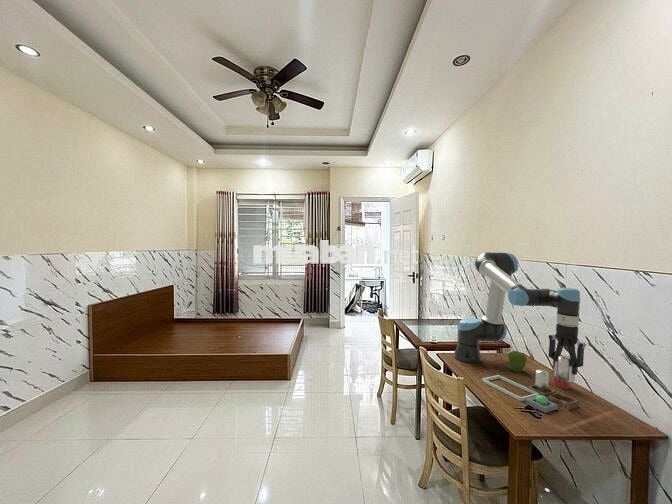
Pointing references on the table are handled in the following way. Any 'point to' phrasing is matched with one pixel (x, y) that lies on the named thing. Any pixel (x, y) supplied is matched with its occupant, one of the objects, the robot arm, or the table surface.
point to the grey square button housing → (545, 409)
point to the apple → (517, 360)
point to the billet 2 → (563, 368)
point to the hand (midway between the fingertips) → (564, 378)
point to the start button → (541, 399)
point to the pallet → (558, 398)
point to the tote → (486, 380)
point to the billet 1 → (542, 380)
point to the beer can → (560, 383)
